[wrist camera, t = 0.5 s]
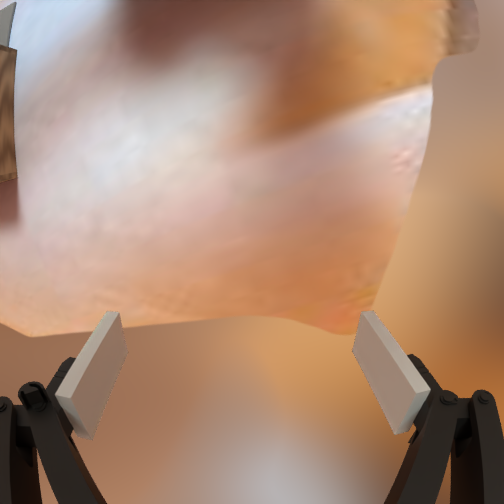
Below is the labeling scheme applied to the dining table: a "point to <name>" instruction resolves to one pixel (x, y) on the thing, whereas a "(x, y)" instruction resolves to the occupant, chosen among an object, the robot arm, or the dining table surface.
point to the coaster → (6, 23)
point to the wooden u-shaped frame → (7, 114)
